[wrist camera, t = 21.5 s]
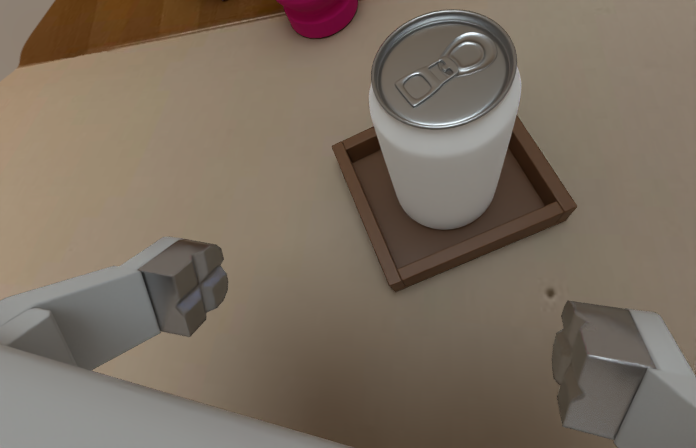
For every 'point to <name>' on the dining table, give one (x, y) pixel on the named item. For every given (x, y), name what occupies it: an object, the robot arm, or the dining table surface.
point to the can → (445, 113)
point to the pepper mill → (319, 15)
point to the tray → (461, 243)
